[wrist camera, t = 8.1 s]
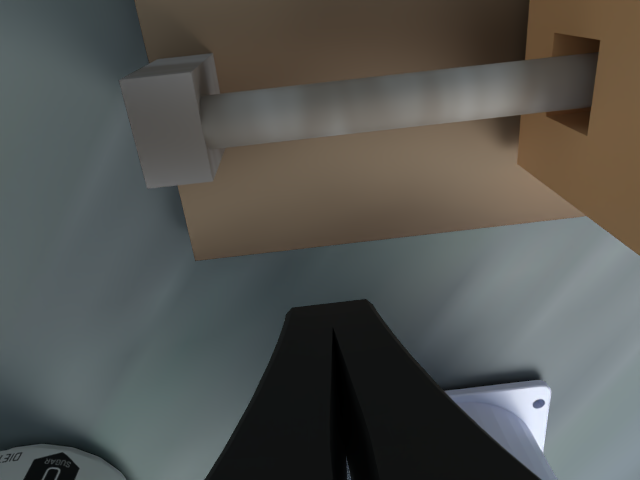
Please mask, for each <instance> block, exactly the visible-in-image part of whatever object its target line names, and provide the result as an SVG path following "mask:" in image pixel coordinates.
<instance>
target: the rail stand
mask: <svg viewBox="0 0 640 480" xmlns="http://www.w3.org/2000/svg"><path fill="white" fill-rule="evenodd" d="M134 1H135V5H136V10H137V14H138V18H139V22H140V27H141V31H142V35H143V40H144V44H145V48H146V52H147V57H148V61H149V64H148V65H146V66H144V67H142V68H140V69H138V70H137V71H135V72H133V73H131V74H129V75H127V76H125V77H124V78H122V79H120V80H119V83H120V87H121V91H122V95H123V99H124V102H125V106H126V110H127V114H128V118H129V121H130V125H131V129H132V133H133V137H134V140H135V144H136V148H137V152H138V156H139V159H140V163H141V167H142V171H143V175H144V179H145V182H146V186H147V189H150V188H159V187H168V186H177V185H178V189H179V194H180V198H181V202H182V206H183V211H184V215H185V219H186V223H187V228H188V232H189V236H190V241H191V245H192V249H193V253H194V258H195V261H199V260H208V259H216V258H225V257H234V256H243V255H251V254H260V253H269V252H278V251H286V250H295V249H304V248H312V247H321V246H330V245H339V244H347V243H356V242H365V241H373V240H382V239H391V238H400V237H408V236H417V235H426V234H435V233H443V232H452V231H461V230H469V229H478V228H487V227H496V226H504V225H513V224H522V223H530V222H539V221H548V220H557V219H565V218H574V217H583V216H586V215H585V214H583V213H582V212H581V211H579V210H578V209H577V208H575V207H574V206H573V205H571V204H570V203H569V202H567V201H566V200H565V199H563V198H562V197H561V196H559V195H558V194H557V193H555V192H554V191H553V190H551V189H550V188H549V187H547V186H546V185H545V184H543V183H542V182H541V181H539V180H538V179H536V178H535V177H534V176H532V175H531V174H530V173H528V172H527V171H526V170H524V169H523V168H522V167H520V166H519V165H518V164H517V157H518V144H519V131H520V118H521V115H524V114H533V113H542V112H550V111H559V110H568V109H577V108H586V107H591V106H592V98H593V91H594V84H595V77H596V69H597V62H598V55H599V52H594V53H585V54H576V55H567V56H558V57H549V58H540V59H531V60H525V54H526V41H527V28H528V15H529V2H530V0H134Z"/></svg>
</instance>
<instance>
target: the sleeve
mask: <svg viewBox="0 0 640 480" xmlns="http://www.w3.org/2000/svg"><path fill="white" fill-rule="evenodd" d="M594 52H599V55H598V62H597V69H596V77H595V84H594V91H593V98H592V106H591V107H586V108H577V109H568V110H559V111H550V112H542V113H533V114H524V115H521V118H520V131H519V144H518V157H517V164H518V165H519V166H520V167H522V168H523V169H524V170H526V171H527V172H528V173H530V174H531V175H532V176H534V177H535V178H536V179H538V180H539V181H541V182H542V183H543V184H545V185H546V186H547V187H549V188H550V189H551V190H553V191H554V192H555V193H557V194H558V195H559V196H561V197H562V198H563V199H565V200H566V201H567V202H569V203H570V204H571V205H573V206H574V207H575V208H577V209H578V210H579V211H581V212H582V213H583V214H585V215H586V216H587V217H589V218H590V219H591V220H593V221H594V222H595V223H597V224H598V225H599V226H601V227H602V228H603V229H605V230H606V231H607V232H609V233H610V234H611V235H613V236H614V237H615V238H617V239H618V240H619V241H621V242H622V243H623V244H625V245H626V246H627V247H629V248H630V249H632V250H633V251H634V252H636V253H637V254H638V255H640V0H530V2H529V15H528V28H527V41H526V54H525V60H531V59H540V58H549V57H558V56H567V55H576V54H585V53H594Z"/></svg>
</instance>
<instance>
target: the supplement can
mask: <svg viewBox="0 0 640 480" xmlns="http://www.w3.org/2000/svg"><path fill="white" fill-rule="evenodd" d="M0 480H126V478H125V477H124V475H123V474H122V473H121V472H120V471H119V470H117V469H116V468H115V467H113V466H112V465H110V464H109V463H108V462H106V461H105V460H103V459H102V458H100V457H98V456H95V455H93V454H90V453H87V452H84V451H82V450H79V449H76V448H73V447H67V446H58V445H49V444H36V445H29V446H21V447H14V448H11V449H9V450H5V451H0Z"/></svg>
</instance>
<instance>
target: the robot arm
mask: <svg viewBox="0 0 640 480" xmlns="http://www.w3.org/2000/svg"><path fill="white" fill-rule="evenodd" d="M550 398H551V389H550V387H549V386H548V384H547V383H546V382H545V381H543V380H532V381H524V382H515V383H507V384H498V385H490V386H481V387H473V388H465V389H456V390H448V391H443V390H442V388H441V387H440V386H439V385H438V384H437V383H436V382H435V381H434V380H433V379H432V378H431V377H430V376H429V374H428V373H427V372H426V371H425V370H424V369H423V368H422V367H421V366H420V365H419V363H418V362H417V361H416V360H415V359H414V358H413V357H412V356H411V354H410V353H409V352H408V351H407V350H406V349H405V347H404V346H403V345H402V344H401V342H400V341H399V340H398V339H397V338H396V336H395V335H394V334H393V333H392V331H391V330H390V329H389V327H388V326H387V325H386V323H385V322H384V321H383V319H382V318H381V316H380V315H379V313H378V312H377V311H376V309H375V307H374V306H373V304H371V303H370V302H369V301H368V300H366V299H363V300H354V301H346V302H337V303H328V304H320V305H311V306H303V307H294V308H291V310H290V311H289V312H288V313H287V314H286V317H285V321H284V325H283V328H282V331H281V334H280V337H279V339H278V342H277V344H276V347H275V349H274V352H273V354H272V357H271V359H270V361H269V364H268V366H267V368H266V370H265V372H264V374H263V376H262V378H261V380H260V383H259V385H258V387H257V389H256V391H255V393H254V395H253V397H252V399H251V401H250V403H249V405H248V407H247V409H246V410H245V412H244V414H243V416H242V417H241V419H240V421H239V423H238V425H237V426H236V428H235V430H234V432H233V433H232V435H231V437H230V439H229V441H228V442H227V444H226V446H225V448H224V449H223V451H222V453H221V454H220V456H219V458H218V459H217V461H216V462H215V464H214V466H213V467H212V469H211V470H210V472H209V474H208V475H207V477H206V478H205V480H347V465H346V457H347V461H348V466H349V470H350V475H351V479H352V480H558V479H557V477H556V475H555V474H554V472H553V470H552V468H551V467H550V465H549V463H548V461H547V459H546V458H545V456H544V454H543V450H544V442H545V435H546V428H547V420H548V413H549V406H550ZM538 399H539V400H538ZM536 400H538V401H536ZM534 401H535V402H534Z"/></svg>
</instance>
